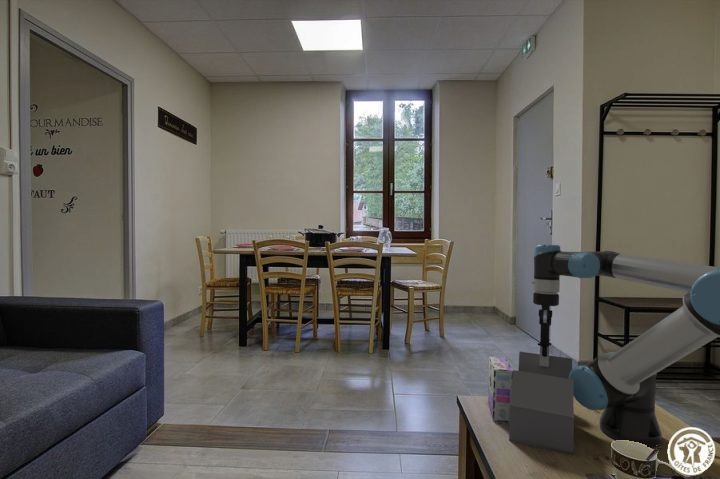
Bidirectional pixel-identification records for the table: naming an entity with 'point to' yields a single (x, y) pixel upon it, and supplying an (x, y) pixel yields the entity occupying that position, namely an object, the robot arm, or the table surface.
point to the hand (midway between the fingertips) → (544, 365)
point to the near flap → (542, 393)
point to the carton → (541, 429)
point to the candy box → (499, 388)
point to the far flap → (556, 366)
